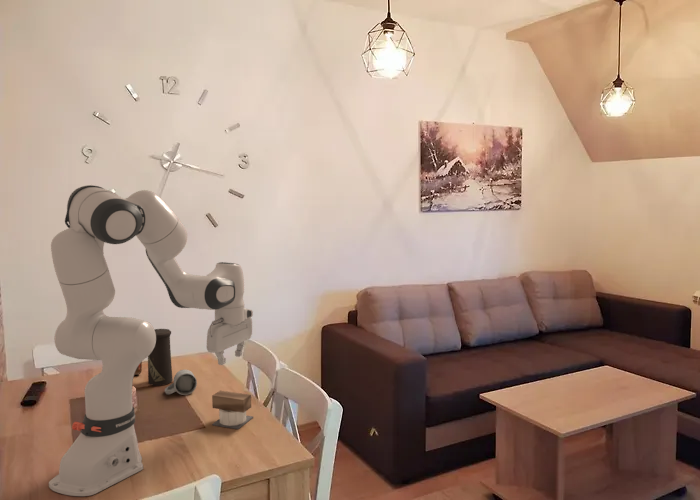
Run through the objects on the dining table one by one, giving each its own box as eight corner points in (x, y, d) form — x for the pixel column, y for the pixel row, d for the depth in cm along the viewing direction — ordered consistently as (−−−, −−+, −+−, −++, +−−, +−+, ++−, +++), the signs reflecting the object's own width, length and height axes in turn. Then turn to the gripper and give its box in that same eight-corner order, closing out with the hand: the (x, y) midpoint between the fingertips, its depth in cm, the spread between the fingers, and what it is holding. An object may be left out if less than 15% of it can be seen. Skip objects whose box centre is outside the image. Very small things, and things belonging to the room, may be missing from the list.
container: (146, 380, 208) (144, 328, 206) (171, 377, 211) (169, 326, 209) (149, 387, 200) (146, 333, 198) (174, 384, 204) (172, 331, 202)
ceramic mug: (194, 386, 201) (193, 365, 201) (197, 393, 194) (196, 372, 193) (163, 390, 197) (162, 370, 196) (166, 398, 190) (164, 376, 189)
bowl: (237, 427, 165) (237, 414, 164) (214, 423, 167) (214, 410, 167) (251, 416, 172) (250, 404, 172) (229, 413, 175) (228, 401, 174)
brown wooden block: (243, 412, 165) (243, 399, 165) (212, 408, 169) (212, 395, 169) (251, 407, 170) (251, 394, 169) (220, 402, 173) (220, 390, 173)
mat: (238, 429, 164) (238, 428, 164) (212, 425, 167) (212, 423, 167) (253, 417, 172) (253, 416, 172) (228, 414, 176) (228, 412, 175)
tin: (123, 368, 222) (122, 348, 221) (131, 367, 224) (130, 346, 223) (135, 378, 211) (134, 356, 210) (143, 376, 213) (142, 355, 212)
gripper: (219, 322, 156) (220, 370, 157) (255, 310, 175) (256, 352, 176) (200, 321, 158) (201, 368, 159) (238, 308, 177) (239, 350, 178)
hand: (230, 360), depth 168 cm, fingers open, 8 cm apart
